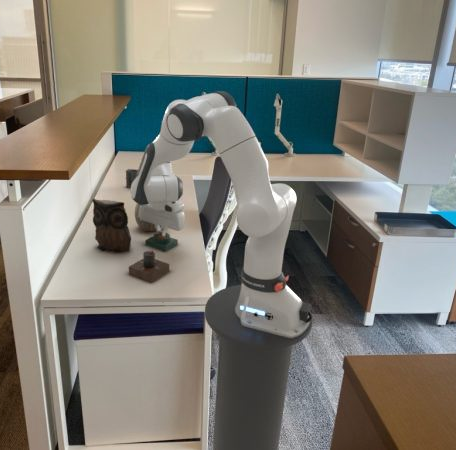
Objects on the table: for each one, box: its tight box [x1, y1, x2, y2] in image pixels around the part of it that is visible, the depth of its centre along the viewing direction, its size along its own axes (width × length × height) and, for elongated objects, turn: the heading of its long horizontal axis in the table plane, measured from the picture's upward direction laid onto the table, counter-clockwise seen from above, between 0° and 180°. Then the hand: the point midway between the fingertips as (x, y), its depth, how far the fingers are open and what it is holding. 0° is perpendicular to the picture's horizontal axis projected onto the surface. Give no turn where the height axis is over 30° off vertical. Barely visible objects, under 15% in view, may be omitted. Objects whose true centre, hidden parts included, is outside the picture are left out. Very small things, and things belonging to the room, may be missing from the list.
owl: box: [92, 198, 132, 254], centre depth 169 cm, size 13×13×20 cm
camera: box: [125, 168, 138, 189], centre depth 243 cm, size 16×4×10 cm, turn 77°
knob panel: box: [128, 258, 170, 283], centre depth 155 cm, size 10×10×3 cm
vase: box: [134, 203, 162, 232], centre depth 189 cm, size 13×13×18 cm
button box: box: [145, 232, 179, 252], centre depth 177 cm, size 10×8×4 cm
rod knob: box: [142, 250, 156, 268], centre depth 153 cm, size 4×4×5 cm
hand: (161, 235), depth 176 cm, fingers closed, pressing on start button
